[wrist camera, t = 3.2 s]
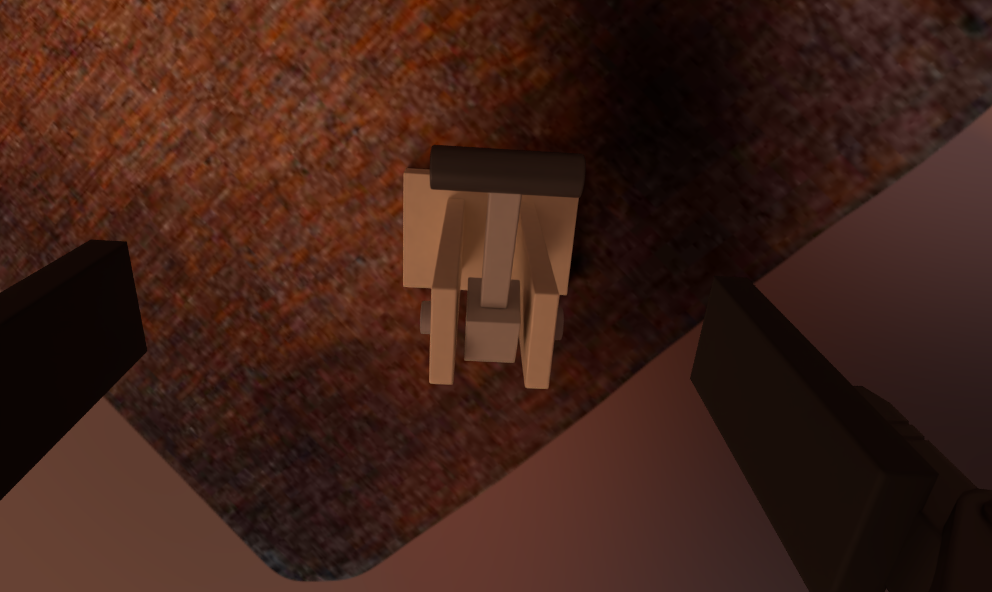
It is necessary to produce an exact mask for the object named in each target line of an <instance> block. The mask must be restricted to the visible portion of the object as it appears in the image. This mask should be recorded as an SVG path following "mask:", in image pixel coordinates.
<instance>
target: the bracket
mask: <svg viewBox="0 0 992 592" xmlns="http://www.w3.org/2000/svg"><path fill="white" fill-rule="evenodd" d="M578 200H579V198H570V197H553V196H536V195H522V197H521V205H520V213H519V221H518V228H517V236H516V244H515V252H514V259H513V267H512V275H511V279H513V280H519V281H520V311H521V325H520V332H519V339H520V348H521V356H522V365H523V374H524V382H525V387H526V388H539V389H548V387H549V380H550V371H551V363H552V354H553V346H554V340H561V338H562V334H563V324H564V316H563V310H562V308H558V304H559V295H567V289H568V281H569V273H570V265H571V256H572V248H573V240H574V232H575V224H576V216H577V208H578ZM487 202H488V193H484V192H467V191H449V190H433V189H431V188H430V169H413V168H406V169H405V172H404V196H403V286H404V287H419V288H432V289H431V301H423V302H422V305H421V316H420V332H421V333H422V334H430V369H429V382H430V383H431V384H453V379H454V366H455V353H456V340H457V326H458V313H459V300H460V290H468V278H469V277H474V278H482V268H483V255H484V242H485V228H486V215H487Z"/></svg>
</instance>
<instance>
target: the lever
mask: <svg viewBox="0 0 992 592" xmlns="http://www.w3.org/2000/svg"><path fill="white" fill-rule="evenodd" d="M585 170H586V165H585V157H584V155H583V154H574V153H558V152H542V151H525V150H509V149H493V148H476V147H460V146H444V145H433V146H432V148H431V155H430V188H431V189H433V190H449V191H467V192H484V193H488V202H487V215H486V228H485V242H484V255H483V268H482V278H474V277H469V278H468V291H467V310H466V330H465V350H464V360H465V361H487V362H509V363H514V362H515V357H516V350H517V344H518V338H519V332H520V325H521V311H520V281H519V280H513V279H511V275H512V267H513V259H514V252H515V244H516V236H517V228H518V221H519V213H520V205H521V197H522V195H536V196H553V197H570V198H579V197H581V195H582V192H583V188H584V182H585Z"/></svg>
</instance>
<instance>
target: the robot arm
mask: <svg viewBox="0 0 992 592" xmlns="http://www.w3.org/2000/svg"><path fill="white" fill-rule="evenodd" d="M146 352H147V347H146V341H145V336H144V331H143V326H142V320H141V315H140V310H139V304H138V299H137V294H136V288H135V283H134V278H133V272H132V267H131V262H130V256H129V251H128V246H127V242H123V241H105V240H89V241H88V242H86V243H84V244H83V245H81V246H79V247H77V248H76V249H74V250H72V251H71V252H69V253H67V254H66V255H64V256H62V257H60V258H59V259H57V260H55V261H54V262H52V263H50V264H49V265H47V266H45V267H43V268H42V269H40V270H38V271H37V272H35V273H33V274H31V275H30V276H28V277H26V278H25V279H23V280H21V281H20V282H18V283H16V284H14V285H13V286H11V287H9V288H8V289H6V290H4V291H2V292H1V293H0V500H1V499H2V498H3V497H4V496H5V495H6V494H7V493H8V492H9V491H10V490H11V489H12V488H13V487H14V486H15V485H16V484H17V483H18V482H19V481H20V480H21V479H22V478H23V477H24V476H25V475H26V474H27V473H28V472H29V471H30V470H31V469H32V468H33V467H34V466H35V464H37V463H38V462H39V461H40V460H41V459H42V458H43V456H45V455H46V453H47V452H48V451H49V450H50V449H51V448H52V447H53V446H54V445H55V444H56V443H57V442H58V441H59V440H60V439H61V438H62V437H63V436H64V435H65V434H66V433H67V432H68V431H69V430H70V429H71V428H72V427H73V426H74V425H75V424H76V423H77V422H78V421H79V420H80V419H81V418H82V417H83V416H84V415H85V414H86V413H87V412H88V411H89V410H90V409H91V408H92V407H93V406H94V405H95V404H96V403H97V402H98V401H99V400H100V399H101V398H102V397H103V396H104V395H105V394H106V393H107V392H108V391H109V390H110V388H111V387H112V386H113V385H114V384H115V383H116V382H117V381H118V380H119V379H120V378H121V377H122V376H123V375H124V374H125V373H126V372H127V371H128V370H129V369H130V368H131V367H132V366H133V365H134V364H135V363H136V362H137V361H138V360H139V359H140V358H141V357H142V356H143V355H144V354H145V353H146ZM690 379H691V381H692V383H693V384H694V386H695V388H696V390H697V392H698V393H699V395H700V397H701V399H702V401H703V402H704V404H705V406H706V408H707V409H708V411H709V413H710V415H711V417H712V418H713V420H714V422H715V424H716V426H717V427H718V429H719V431H720V433H721V435H722V436H723V438H724V440H725V442H726V444H727V445H728V447H729V449H730V451H731V452H732V454H733V456H734V458H735V460H736V461H737V463H738V465H739V467H740V469H741V470H742V472H743V474H744V476H745V477H746V479H747V481H748V483H749V485H750V486H751V488H752V490H753V491H754V493H755V495H756V497H757V499H758V501H759V503H760V504H761V506H762V508H763V510H764V511H765V513H766V515H767V517H768V519H769V520H770V522H771V524H772V526H773V527H774V529H775V531H776V533H777V535H778V536H779V538H780V540H781V542H782V544H783V545H784V547H785V549H786V551H787V552H788V554H789V556H790V558H791V560H792V561H793V563H794V565H795V567H796V569H797V570H798V572H799V574H800V576H801V577H802V579H803V581H804V583H805V585H806V586H807V588H808V590H809V592H885V590H886V588H887V590H888V591H889V592H992V490H985V489H978V488H977V487H976V486H975V485H974V484H973V483H972V482H971V481H970V480H969V479H968V478H967V477H966V476H964V474H962V472H961V471H960V470H958V469H957V468H956V467H955V466H954V465H953V464H952V463H951V462H950V461H949V460H948V459H947V458H946V457H945V456H944V455H943V454H942V453H941V452H940V451H939V450H938V449H937V448H936V447H935V446H934V445H933V444H932V443H931V442H930V441H927V440H924V436H923V435H922V434H921V433H920V432H919V431H918V430H917V429H916V428H915V427H914V426H913V425H909V423H908V420H907V419H906V418H905V417H904V416H903V415H902V414H901V413H899V411H898V410H897V409H895V407H893V406H892V405H891V404H890V403H889V402H887V401H886V400H884V399H882V398H881V397H879V396H878V395H876V394H874V393H872V392H871V391H869V390H868V389H866V388H864V387H863V386H852V385H851V384H850V383H849V382H848V381H847V380H846V378H845V377H844V376H843V375H842V374H841V373H840V372H839V371H838V370H837V369H836V368H835V367H834V366H833V365H832V364H831V363H830V362H829V361H828V360H827V359H826V358H825V357H824V356H823V355H822V354H821V353H820V352H819V351H818V350H817V349H816V348H815V347H814V346H813V345H812V344H811V343H810V342H809V341H808V340H807V339H806V338H805V337H804V336H803V335H802V334H801V333H800V332H799V330H798V329H797V328H795V326H794V325H793V324H792V323H791V322H790V321H789V320H788V319H787V318H786V317H785V316H784V315H783V314H782V313H781V312H780V311H779V310H778V309H777V308H776V307H775V306H774V305H773V304H772V303H771V302H770V301H769V300H768V299H767V298H766V297H765V296H764V295H763V294H762V293H761V292H760V291H759V290H758V289H757V288H756V287H755V286H754V285H753V284H752V283H751V281H750V280H749V279H748V278H741V277H724V276H714V279H713V283H712V287H711V292H710V296H709V300H708V304H707V309H706V313H705V317H704V322H703V326H702V330H701V334H700V339H699V343H698V347H697V351H696V356H695V360H694V364H693V368H692V373H691V377H690Z"/></svg>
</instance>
